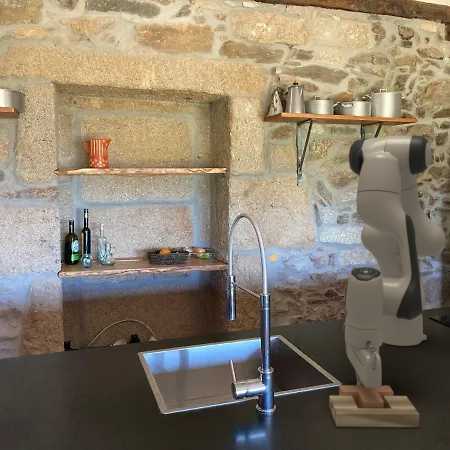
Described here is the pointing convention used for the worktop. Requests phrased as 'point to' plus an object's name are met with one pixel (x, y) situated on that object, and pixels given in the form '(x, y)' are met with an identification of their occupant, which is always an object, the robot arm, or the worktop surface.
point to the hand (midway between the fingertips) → (361, 389)
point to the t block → (366, 395)
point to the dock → (374, 413)
